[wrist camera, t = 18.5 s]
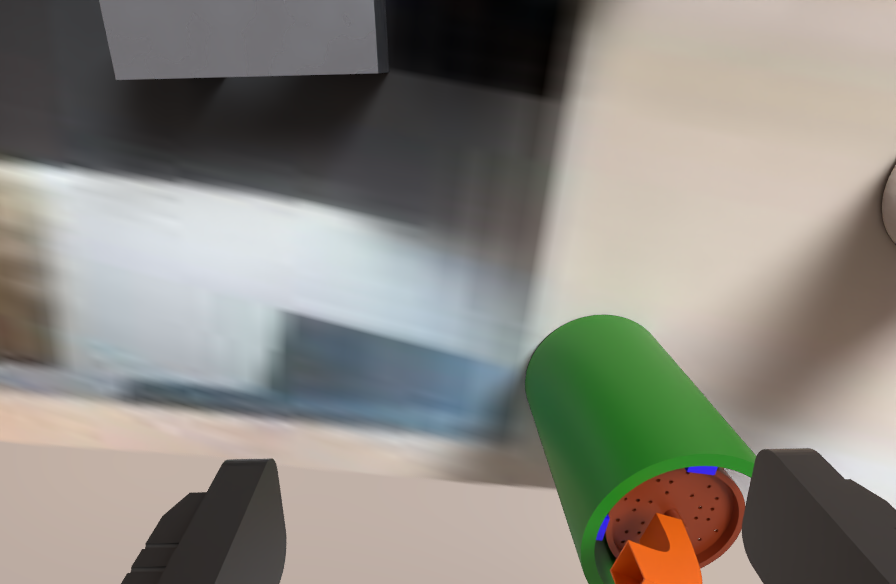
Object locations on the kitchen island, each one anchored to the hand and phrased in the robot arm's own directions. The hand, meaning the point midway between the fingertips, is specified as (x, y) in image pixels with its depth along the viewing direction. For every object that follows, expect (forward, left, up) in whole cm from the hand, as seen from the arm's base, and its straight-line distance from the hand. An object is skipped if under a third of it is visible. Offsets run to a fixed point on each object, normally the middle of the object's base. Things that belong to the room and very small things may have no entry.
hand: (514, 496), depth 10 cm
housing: (+10, -9, -29) cm, 32 cm away
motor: (-9, +14, -29) cm, 34 cm away
